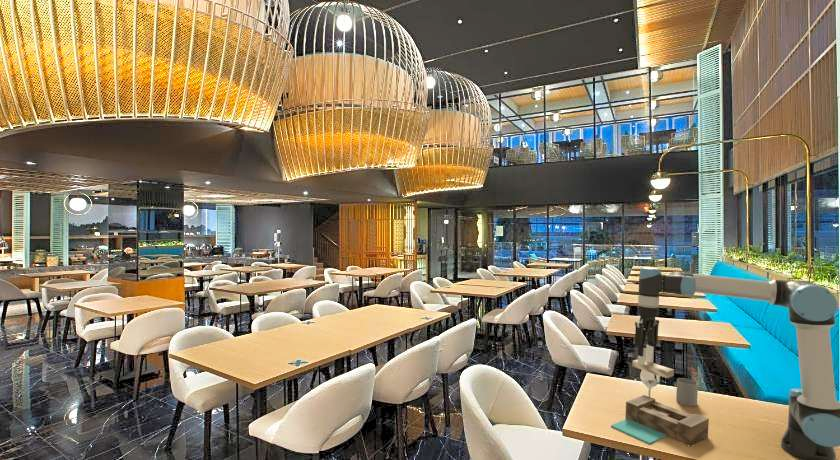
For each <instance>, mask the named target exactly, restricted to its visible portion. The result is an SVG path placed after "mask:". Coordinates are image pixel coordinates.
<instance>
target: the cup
mask: <svg viewBox="0 0 840 460" xmlns="http://www.w3.org/2000/svg"><path fill="white" fill-rule="evenodd" d="M698 389H699V383H698V382H697V381H695V380H693V379H689V378H683V377H682V378H681V377H679V378H677V379H676V397H675V400H676V402H677V403H678V404H680V405H683V406H687V407H697V405H698V394H699V393H698V392H699V391H698Z"/></svg>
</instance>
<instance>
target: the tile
mask: <svg viewBox="0 0 840 460" xmlns="http://www.w3.org/2000/svg"><path fill="white" fill-rule="evenodd" d="M631 362H632V365H631V367H632V368H636V369H639V370H644V371H647V372H650V373H653V374H656V375H659V376H660V377H662V378H665V379H668V378H669V379H670V378H671V377H674V375H675V369H673V368H671V367H667V366H664V365H660V364H658V363H655V362H653V363H651V362H648V361H646V360H645V365H643V364H640V363H637V362H638V358H636V359H634V360H632V361H631Z"/></svg>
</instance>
